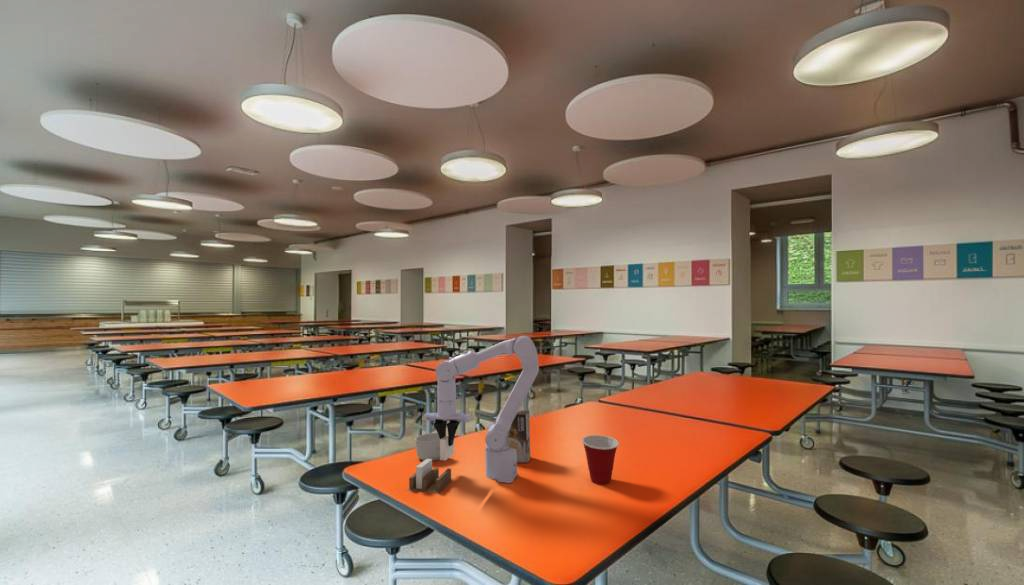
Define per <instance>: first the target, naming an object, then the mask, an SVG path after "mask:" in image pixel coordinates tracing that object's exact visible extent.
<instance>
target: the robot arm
mask: <svg viewBox="0 0 1024 585" xmlns="http://www.w3.org/2000/svg"><path fill="white" fill-rule="evenodd" d="M513 354H515V355H516V357H517V358H518V359H519V361H520V364H521V367H522V370H521V372H520V375H519V377H518V378H517V380H516V382H515V384H514V386H513V388H512V390H511V392H510V393H509V396H508V397H507V400H506V401H505V403H504V405H503V407H502V409H501V411H500V413H499V414H498V416H497V417H496V419H495V421H494V422H492V423H491V424H490V425H489V427H488V429H487V433H486V435H485V438H484V439H485V446H484V450H485V451H484V452H485V454H484V455H485V456H484V457H485V477H486V478H487V479H491V480H496V482H497V483H508V484H511V483H512V484H513V482H514V480H515V478H516V477H517V475H518V473H519V472H518V462H517V452H516V449H514V448H510V447H509V445H508V444H507V442H506V439H507V438H506V437H507V434H508V432H509V429H510V427H511V424H512V422H513V420H514V418H515V416H516V414H517V412H518V410H520V408H521V406H522V405H523V402H525V398H526V397H527V395H528V393H529V391H530V389H531V387H532V386H533V383H534V381H535V380H536V378H537V376H538V374H539V371H540V364H539V356H538V349H537V348H536V345H535V343H534V341H533V339H532V338H531V337H529V336H528V335H521V336H518V337H516V338H515V337H514V338H513V337H512V338H510V339H505V340H503V341H501V342H498V343H496V344H493V345H492V346H489V347H486V348H485V349H483V350H480V351H478V352H475V351H473V350H469V351H468V350H464V351H463V352H462V353H461V354H460V355H457V356H455V357H454V356H453V357H452V356H451V357H448V360H444V361H442V362H440V363H439V364H437V366H436V368H435V376H436V378H437V386H436V388H437V394H436V395H437V399H436V400H437V412H426V413H424V414H423V421H426V422H427V421H434V423H433V427H434V428H435V431H436V432H438V435H439V438H440V439H442V438H443V437H445V436H446V435H448V445H449V446H451V445H453V441H454V442H455V436H456V433H457V430H458V427H459V426H460V424H461V422H463V423H466V424H467V423H470V422H471V414H465V413H457V384H456V376H461V375H464V374H466V373H469V372H471V371H474V370H476V369H478V368H479V366H480V363H481V362H484V361H487V360H490V359H492V358H496V357H497V356H500V355H509V356H513Z"/></svg>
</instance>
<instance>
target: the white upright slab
mask: <svg viewBox="0 0 1024 585" xmlns="http://www.w3.org/2000/svg"><path fill="white" fill-rule="evenodd" d="M454 454H455V440H454V441H453V445H451V446H449V445H448V434H446V436H445V437H443V438H442V439H440V460H439V461H447V460H448V459H450V457H452V456H453V455H454Z"/></svg>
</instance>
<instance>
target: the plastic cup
mask: <svg viewBox="0 0 1024 585" xmlns="http://www.w3.org/2000/svg"><path fill="white" fill-rule="evenodd" d="M581 442H582V445H583V447H584V452H585V455H586V462H587V467H588V472H589V476H590V481H591V482H592V483H593V484H596V485H597V484H598V485H608V484H611V481H612V476H613V470H614V464H615V463H614V462H615V458H616V457H615V456H616V454H617V453H616V452H617V449H618V446H620V445H619V444H620V442H619V440H617V439H616V438H614V437H611V436H607V435H602V434H591V435H585V436H584V437H583V438H581Z"/></svg>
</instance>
